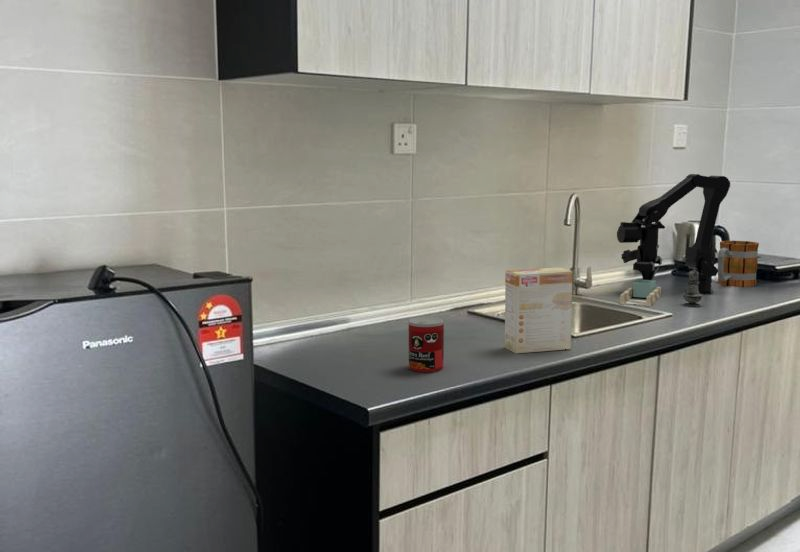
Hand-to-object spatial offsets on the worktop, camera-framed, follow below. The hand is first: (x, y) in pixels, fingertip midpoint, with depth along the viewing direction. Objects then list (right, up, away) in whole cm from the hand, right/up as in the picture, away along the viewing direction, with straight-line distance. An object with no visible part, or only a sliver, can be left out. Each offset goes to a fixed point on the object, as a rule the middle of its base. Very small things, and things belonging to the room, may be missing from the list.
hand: (646, 288), depth 263 cm
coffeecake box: (-49, -14, -70) cm, 86 cm away
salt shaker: (+8, -5, -18) cm, 21 cm away
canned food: (-77, -17, -87) cm, 117 cm away
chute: (-5, -4, -9) cm, 11 cm away
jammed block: (-2, -2, -4) cm, 5 cm away
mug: (+36, +1, +18) cm, 41 cm away
